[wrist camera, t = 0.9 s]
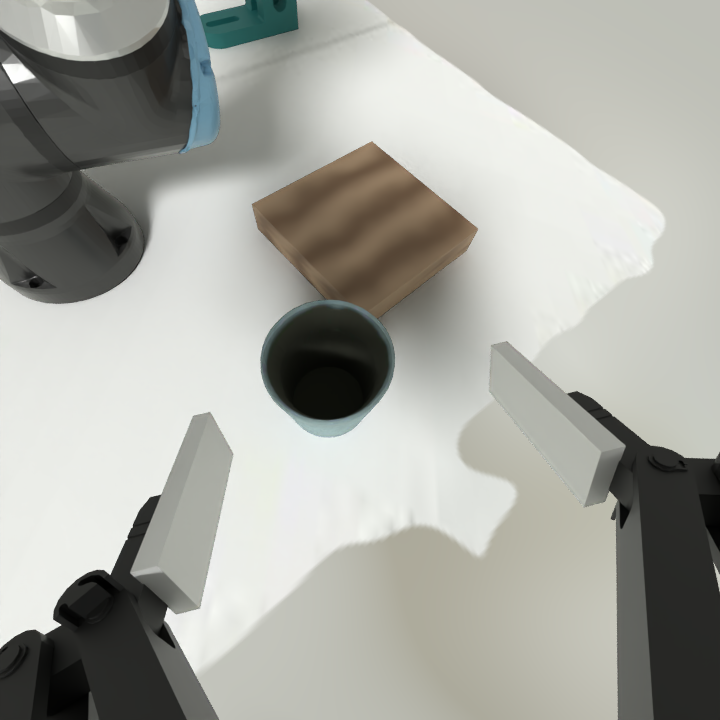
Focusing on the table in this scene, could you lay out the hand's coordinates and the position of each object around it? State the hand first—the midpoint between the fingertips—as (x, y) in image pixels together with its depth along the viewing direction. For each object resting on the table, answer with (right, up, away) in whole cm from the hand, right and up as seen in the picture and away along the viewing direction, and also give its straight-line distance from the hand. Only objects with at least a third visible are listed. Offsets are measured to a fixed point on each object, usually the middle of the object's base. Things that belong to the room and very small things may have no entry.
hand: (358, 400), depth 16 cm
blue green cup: (-3, -3, +21) cm, 21 cm away
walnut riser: (+1, +18, +29) cm, 35 cm away
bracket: (-21, +63, +47) cm, 81 cm away
